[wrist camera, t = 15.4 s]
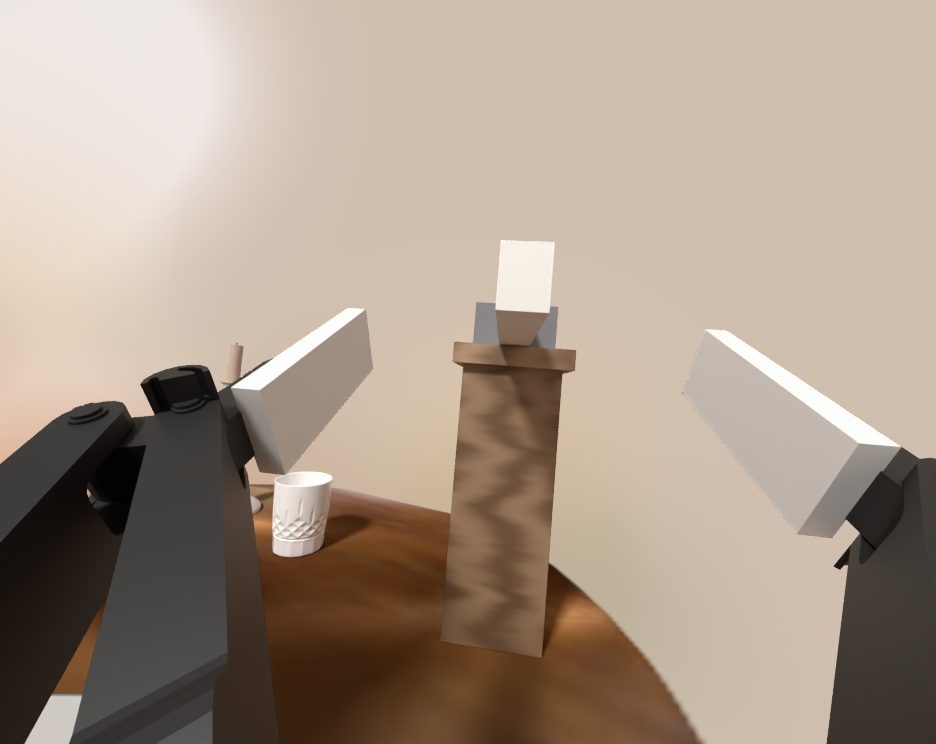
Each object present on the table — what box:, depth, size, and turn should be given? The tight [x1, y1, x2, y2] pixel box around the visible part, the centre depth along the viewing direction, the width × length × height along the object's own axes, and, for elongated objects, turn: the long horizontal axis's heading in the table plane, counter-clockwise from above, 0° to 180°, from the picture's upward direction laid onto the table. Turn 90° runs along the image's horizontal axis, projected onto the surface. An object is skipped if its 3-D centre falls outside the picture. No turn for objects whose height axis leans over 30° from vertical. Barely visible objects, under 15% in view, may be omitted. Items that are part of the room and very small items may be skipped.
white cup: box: [272, 472, 333, 557], centre depth 51 cm, size 8×8×10 cm
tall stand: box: [440, 342, 576, 658], centre depth 41 cm, size 12×14×30 cm
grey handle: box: [473, 240, 558, 349], centre depth 33 cm, size 9×27×5 cm, turn 174°
